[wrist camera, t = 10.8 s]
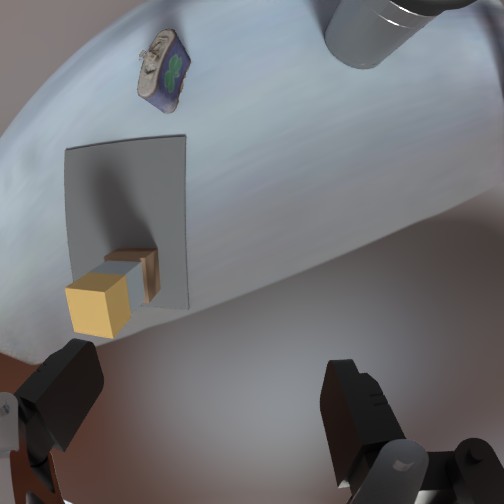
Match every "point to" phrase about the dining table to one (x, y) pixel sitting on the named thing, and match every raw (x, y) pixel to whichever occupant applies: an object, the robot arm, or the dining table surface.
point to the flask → (163, 71)
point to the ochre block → (99, 304)
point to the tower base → (148, 267)
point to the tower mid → (127, 279)
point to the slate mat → (129, 208)
